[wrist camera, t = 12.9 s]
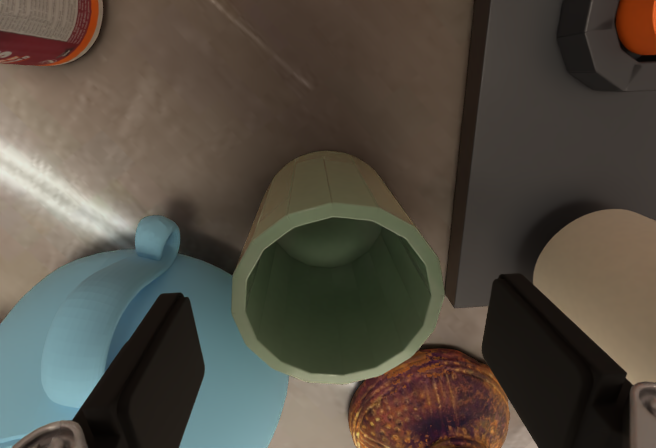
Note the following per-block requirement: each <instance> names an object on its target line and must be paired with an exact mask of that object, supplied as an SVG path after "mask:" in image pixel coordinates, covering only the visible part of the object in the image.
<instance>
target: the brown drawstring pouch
mask: <svg viewBox="0 0 656 448" xmlns="http://www.w3.org/2000/svg"><path fill="white" fill-rule="evenodd" d="M509 420H510V412H509V408H508V399H507V395H506V394H505V392H504V390H503V389H502V387H501V386H500V384H499V382H498V381H497V379H496V377H495V376H494V374H493V373H492V371H491V369H490V368H489V366H488V365H485V364H483V363H479V362H477V361H476V360H475V359H473V358H471V357H468V356H467V355H465V354H464V353H462V352H460V351H458V350H454V349H442V348H435V349H423V350H419V351H416V353H415V354H414V355H413V356H412V357H411V358H409V359H408V360H406V361H404V362H403V363H401V364H399V365H398V366H396V367H394V368H393V369H391V370H389V371H388V372H386V373H384V374H383V375H380V376H377V377H373V378H369V379H366V380H365V381H364V382H363V383H362V384H361V385H360V386H359V388H358V389H357V391H356V392H355V394H354V395H353V398H352V401H351V403H350V407H349V414H348V422H349V428H350V432H351V435H352V438H353V441H354V444H355V446H356V447H357V448H501V447H502V445H503V443H504V441H505V438H506V435H507V431H508V424H509Z"/></svg>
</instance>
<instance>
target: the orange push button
mask: <svg viewBox="0 0 656 448" xmlns="http://www.w3.org/2000/svg"><path fill="white" fill-rule="evenodd" d="M616 29H617V34H618V37H619V39H620V41H621V43H622V44H623V45H624V47H626V48H627V49H628V50H629V51H631V52H633V53H635V54H639V55H656V0H620V2H619V5H618V9H617V14H616Z"/></svg>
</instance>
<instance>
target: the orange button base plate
mask: <svg viewBox="0 0 656 448" xmlns="http://www.w3.org/2000/svg"><path fill="white" fill-rule="evenodd" d="M619 2H620V0H475V7H474V16H473V26H472V36H471V45H470V55H469V65H468V74H467V84H466V93H465V103H464V113H463V122H462V132H461V142H460V151H459V161H458V170H457V180H456V190H455V199H454V209H453V218H452V228H451V238H450V247H449V257H448V267H447V276H446V286H445V294H446V296H447V297H448V299H449V301H450V302H451V304H452V305H453V307H454V308H467V307H483V306H489V301H490V296H491V290H492V284H493V281H494V280H495V279H498V277H499V275H501V274H512V273H521V274H522V275H524V276H525V277H526V278H527V279H528V280H529V281H530V282H531V283H532V284H533V274H534V269H535V265H536V262H537V260H538V258H539V255H540V254H541V252H542V250H543V249H544V247H545V246H546V245H547V243H548V242H549V241H550V240H551V239H552V237H553V236H554V235H555V234H556V233H558V232H559V231H560V230H561V229H562V228H564V227H565V226H566V225H568V224H569V223H571V222H572V221H574V220H576V219H578V218H580V217H582V216H584V215H587V214H589V213H592V212H596V211H600V210H607V209H623V210H629V211H632V212H635V213H638V214H640V215H643V216H645V217H648V218H650V219H653V220H655V221H656V55H639V54H635V53H633V52H631V51H629V50H628V49H627V48H626V47H624V45H623V44H622V43H621V41H620V39H619V37H618V34H617V29H616V14H617V9H618V5H619Z"/></svg>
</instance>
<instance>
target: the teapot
mask: <svg viewBox="0 0 656 448" xmlns="http://www.w3.org/2000/svg"><path fill="white" fill-rule="evenodd" d="M179 246H180V231H179V227H178V226H177V224H176V223H175V222H174V221H172V220H170V219H168V218H166V217H164V216H161V215H152V216H147V217H144V218H143V219H141V220H140V222H139V224H138V226H137V229H136V234H135V249H121V250H115V251H108V252H102V253H97V254H94V255H90V256H87V257H83V258H80V259H77V260H75V261H72V262H70V263H68V264H66V265H64V266H61V267H60V268H58V269H57V270H55V271H54V272H52V273H50V274H49V275H47V276H46V277H45V278H44V279H43V280H41V281H40V282H39V283H38V284H37V285H35V286H34V287H33V288H32V289H31V290H30V291H29V292H28V293H26V294H25V295H24V296H23V297H22V298H21V299H20V301H19V302H18V303H17V304H16V305H15V306H14V308H13V309H12V310H11V311H10V312H9V314H8V315H7V316H6V317H5V319H4V320H3V321H2V323H1V324H0V448H12V446H14V445H15V444H16V443H17V442H18V441H20V440H21V439H22V438H23V437H24V436H26V435H28V434H29V433H31V432H32V431H34V430H36V429H37V428H40V427H42V426H44V425H47V424H49V423H52V422H56V421H61V420H72V419H73V418H74V416H75V415H76V414H77V412H78V411H79V409H80V408H81V406H82V405H83V403H84V402H85V400H86V399H87V398H88V396H89V395H90V393H91V392H92V390H93V389H94V387H95V386H96V385H97V383H98V382H99V380H100V379H101V377H102V376H103V374H104V373H105V371H106V370H107V369H108V367H109V366H110V364H111V363H112V361H113V360H114V358H115V357H116V355H117V354H118V353H119V351H120V350H121V348H122V347H123V345H124V344H125V343H126V342H127V341H128V340H129V339H130V337H131V336H132V335H133V333H134V332H135V330H136V329H137V327H138V326H139V324H140V323H141V321H142V320H143V318H144V317H145V315H146V314H147V313H148V311H149V310H150V308H151V307H152V305H153V304H154V302H155V301H156V299H157V298H158V296H159V295H160V294H162V293H178V292H181V293H182V294H183V295H184V297H189V299H190V302H191V307H192V311H193V315H194V320H195V324H196V329H197V333H198V337H199V342H200V346H201V351H202V355H203V359H204V364H205V373H204V378H203V381H202V383H201V386H200V389H199V392H198V395H197V398H196V401H195V403H194V406H193V409H192V412H191V415H190V418H189V420H188V423H187V426H186V429H185V432H184V435H183V438H182V440H181V443H180V446H179V448H268V445H269V443H270V441H271V439H272V437H273V435H274V432H275V430H276V427H277V424H278V422H279V419H280V416H281V412H282V409H283V405H284V402H285V398H286V394H287V388H288V379H289V375H287V374H284V373H281V372H279V371H276V370H274V369H272V368H271V367H270V366H268V365H267V364H266V363H265V362H264V361H263V360H262V359H261V358H259V357H258V356H257V355H256V354H255V353H254V352H253V351H252V350H250V349H249V348H248V347H247V346H246V344H245V343H244V340H243V338H242V336H241V334H240V332H239V329H238V327H237V325H236V323H235V321H234V319H233V316H232V314H231V296H232V277H233V275H231V274H229V273H227V272H226V271H224V270H222V269H220V268H219V267H216V266H214V265H212V264H209V263H207V262H205V261H202V260H200V259H196V258H193V257H190V256H187V255H183V254H179V253H178V251H179Z"/></svg>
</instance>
